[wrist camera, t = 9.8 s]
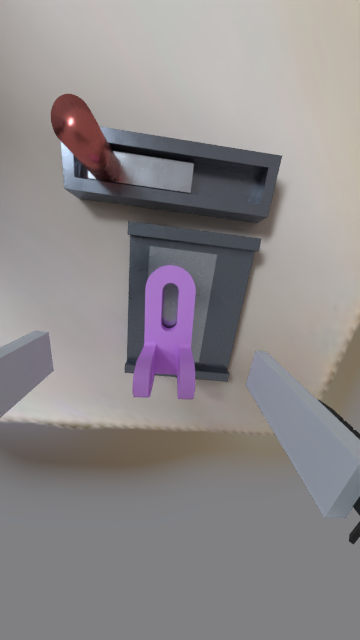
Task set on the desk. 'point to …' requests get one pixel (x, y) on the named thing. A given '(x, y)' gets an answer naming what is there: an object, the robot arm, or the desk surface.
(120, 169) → the lever
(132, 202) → the frame
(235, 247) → the press bed
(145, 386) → the bracket
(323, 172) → the desk surface
